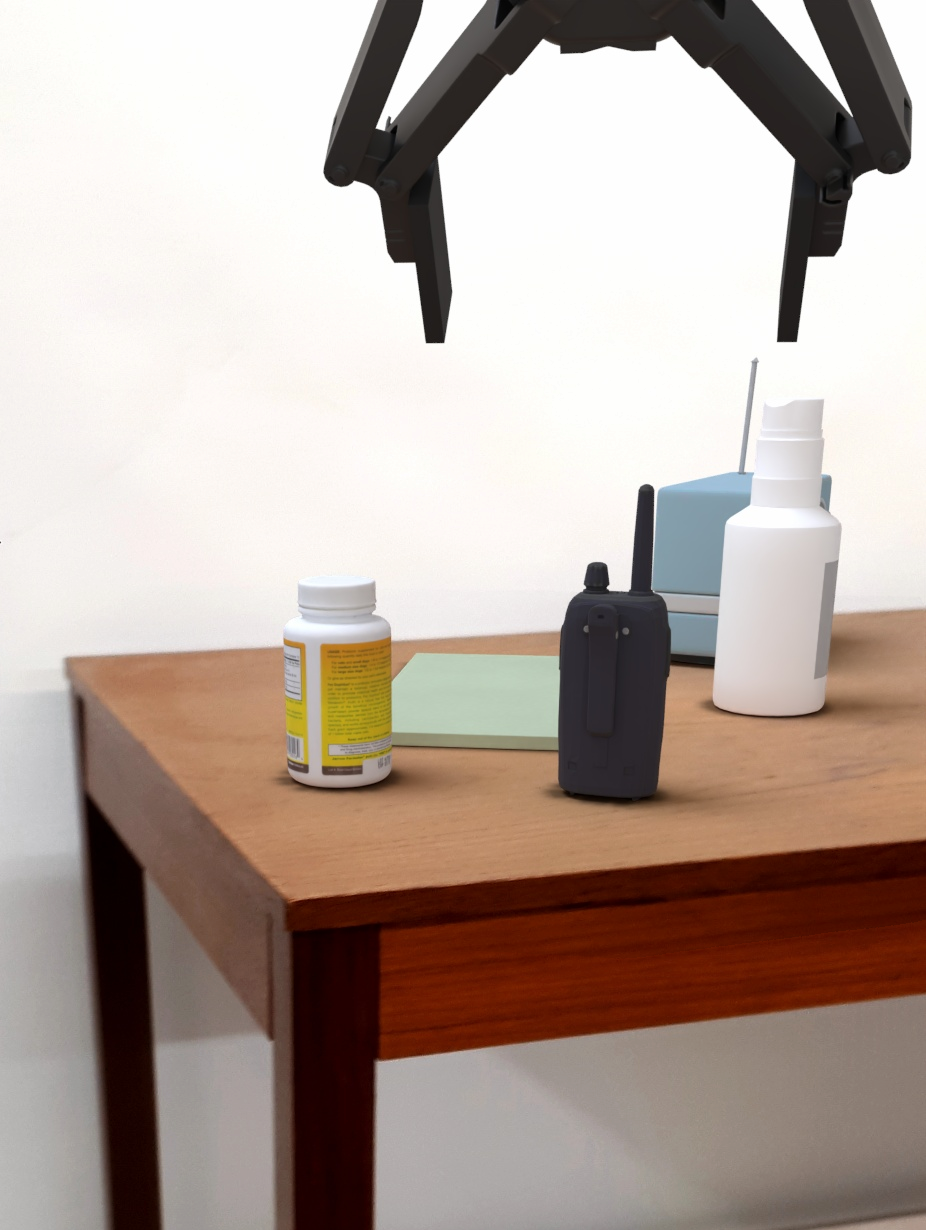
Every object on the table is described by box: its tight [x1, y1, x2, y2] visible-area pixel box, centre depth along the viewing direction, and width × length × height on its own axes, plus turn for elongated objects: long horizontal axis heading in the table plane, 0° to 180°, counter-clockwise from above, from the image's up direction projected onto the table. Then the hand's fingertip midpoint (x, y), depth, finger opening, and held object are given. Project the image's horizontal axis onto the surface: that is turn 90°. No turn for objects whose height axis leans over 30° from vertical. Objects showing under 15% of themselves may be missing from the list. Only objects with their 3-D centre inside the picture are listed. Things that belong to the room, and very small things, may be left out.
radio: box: [651, 356, 833, 666], centre depth 119 cm, size 16×9×20 cm, turn 150°
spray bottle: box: [712, 397, 843, 717], centre depth 101 cm, size 7×7×18 cm
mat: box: [392, 652, 560, 751], centre depth 106 cm, size 16×26×1 cm, turn 169°
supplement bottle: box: [282, 574, 393, 789], centre depth 87 cm, size 6×6×10 cm
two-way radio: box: [557, 483, 671, 802], centre depth 81 cm, size 6×4×15 cm
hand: (610, 317), depth 66 cm, fingers open, 13 cm apart
